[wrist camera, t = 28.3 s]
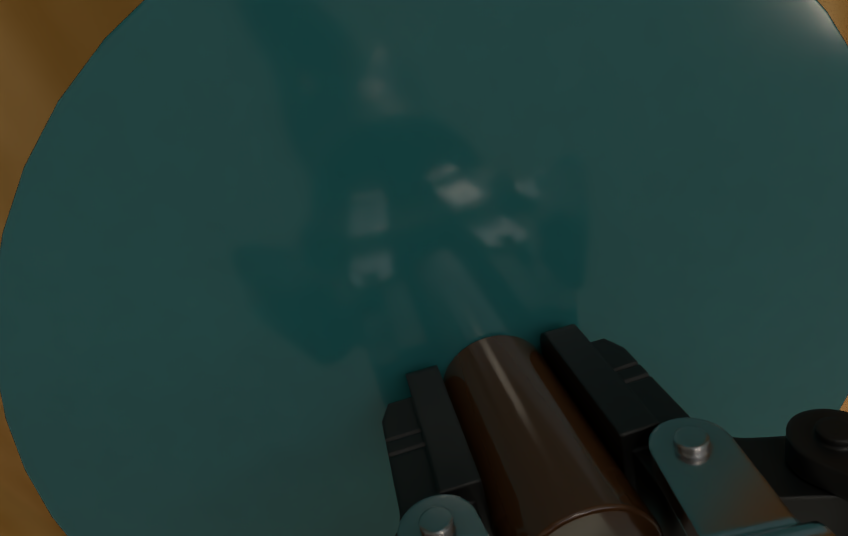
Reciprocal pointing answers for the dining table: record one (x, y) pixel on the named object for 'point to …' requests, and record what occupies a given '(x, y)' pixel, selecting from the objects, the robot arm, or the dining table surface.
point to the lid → (416, 251)
